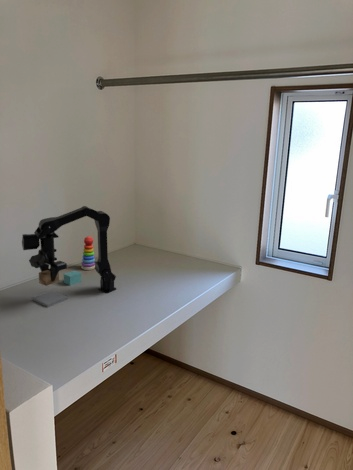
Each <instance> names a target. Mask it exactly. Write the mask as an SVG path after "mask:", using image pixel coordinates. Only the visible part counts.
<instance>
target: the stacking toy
mask: <svg viewBox="0 0 353 470" xmlns="http://www.w3.org/2000/svg"><path fill="white" fill-rule="evenodd" d="M83 242H84V246H83V252H82V254H83V255H82V259H81V266H80V267H81V269H82V270H85V271H92V270H95V269H94V268H95V263H94V262H95V261H96V259H95V251H94V245H93V243H94V238H93V237H92V236H90V235H89V236H86V237H84V240H83Z"/></svg>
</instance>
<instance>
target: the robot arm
mask: <svg viewBox="0 0 353 470" xmlns="http://www.w3.org/2000/svg"><path fill="white" fill-rule="evenodd" d="M85 217H88V218H90V219H92V220H94V224H95V227H96V231H97V249H98V251H97V252H98V253H97V255H98V256H97V257H98V258H97V261H96V260H95V261H94V263H95V268H94V269H93V270H95V272H96V273H97V274H98V275H99V276H100V283H99V284H100V286H99V287H98V291H101V292H104V293H105V294H106V293H107V294H108V293H111V292H114V291H115V290H117V288H116V287H115V280H116V278H117V275H115V274H114V273H113V272H112V269H111V265H110V262H109V257H108V256H109V254H108V253H109V252H108V251H109V250H108V229H109V227H110V222H111V217H110V215H109V214H107V213H106V212H104V211H102V210H96V209H93V208H90V207H88V206H87V205H83V206H82V207H80V208H76V209H73V210H72V211H69V212H66V213H64V214H61V215H59V216H54V217H47V218H43V219H40V221H39V222H38V227H36V229H35V231H34V233H31V234H30V233H29V234H26V233H24V234H22V237H21V239H22V240H21V246H22V250H23V251H31V250H36V249H38V248H39V247H40V249H38V253H37V254H35V255H32V256H31V257H30V258H29V260H28V262H29V264H30V266H31V268H35V269H39V270H40V272H43V271H46V270H49V271H50V274H51V280H52V282H54V281H55V278H56V276H57V274H58V272H59V273H60V271H62V270H65V269H67V267H68V265H67V263H66V262H65V261H61V260H58V258H57V257H56V255H55V253H56V252H57V249H56V248H55V238H56V239H57V238H59V235H58V234H57V233H56V231H58V230H59V229H60V228H61V227H63V226H65V225H68V224H70V223H72V222H75V221H78V220H80V219H82V218H85Z"/></svg>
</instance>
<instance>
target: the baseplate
mask: <svg viewBox="0 0 353 470" xmlns="http://www.w3.org/2000/svg"><path fill="white" fill-rule="evenodd" d="M31 300H32V301H33V302H36V303H37V304H40V305H42V306H45V307H46V308H49V307H52V306H54V305H57V304H59V303H61V302H65V301H66V300H68V296H66V295H65V294H62V293H60V292H57V291H55V290H53V289H52V290H49V291H46V292H44V293H41V294H39V295H36V296H33V297H32V298H31Z"/></svg>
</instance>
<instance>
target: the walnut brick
mask: <svg viewBox="0 0 353 470" xmlns="http://www.w3.org/2000/svg"><path fill="white" fill-rule="evenodd" d="M38 281H39V282H38V283H39V284H41V285H42V286H45V287H47V286H48V287H49V286H50V285H53V284H56V283H58V282H60V271H59V272H58V274H57V276H56V278H55V281H54V282H52V280H51V274H50V271H49V270H46V271H43V272H41V271H40V272H38Z"/></svg>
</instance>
